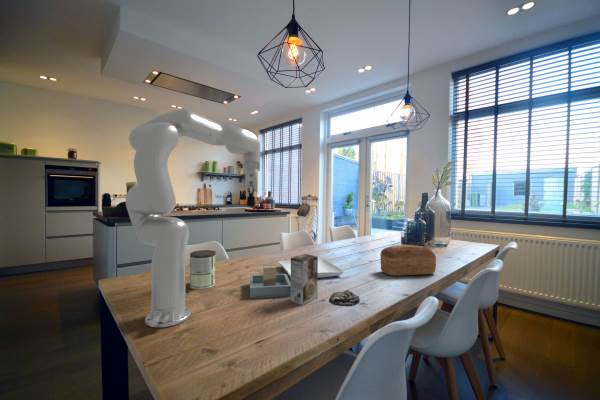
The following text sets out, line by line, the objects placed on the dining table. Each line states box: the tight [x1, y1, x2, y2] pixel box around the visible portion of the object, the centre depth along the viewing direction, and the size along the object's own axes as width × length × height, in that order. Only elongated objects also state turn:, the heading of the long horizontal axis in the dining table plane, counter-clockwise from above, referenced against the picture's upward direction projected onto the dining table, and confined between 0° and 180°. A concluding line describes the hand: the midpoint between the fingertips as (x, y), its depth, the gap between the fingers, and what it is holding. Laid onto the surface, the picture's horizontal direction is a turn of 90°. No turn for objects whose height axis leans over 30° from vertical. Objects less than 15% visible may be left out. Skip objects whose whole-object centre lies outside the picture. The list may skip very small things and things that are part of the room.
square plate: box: [277, 258, 345, 279], centre depth 134 cm, size 27×27×4 cm
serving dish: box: [249, 273, 291, 299], centre depth 107 cm, size 16×16×4 cm
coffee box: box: [289, 253, 319, 306], centre depth 97 cm, size 9×6×16 cm
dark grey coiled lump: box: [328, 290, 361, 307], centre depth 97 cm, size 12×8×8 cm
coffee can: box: [189, 249, 216, 290], centre depth 111 cm, size 10×10×14 cm
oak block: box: [262, 263, 277, 286], centre depth 107 cm, size 5×5×9 cm
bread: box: [380, 244, 437, 277], centre depth 134 cm, size 12×28×14 cm, turn 100°
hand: (250, 205), depth 115 cm, fingers open, 9 cm apart
